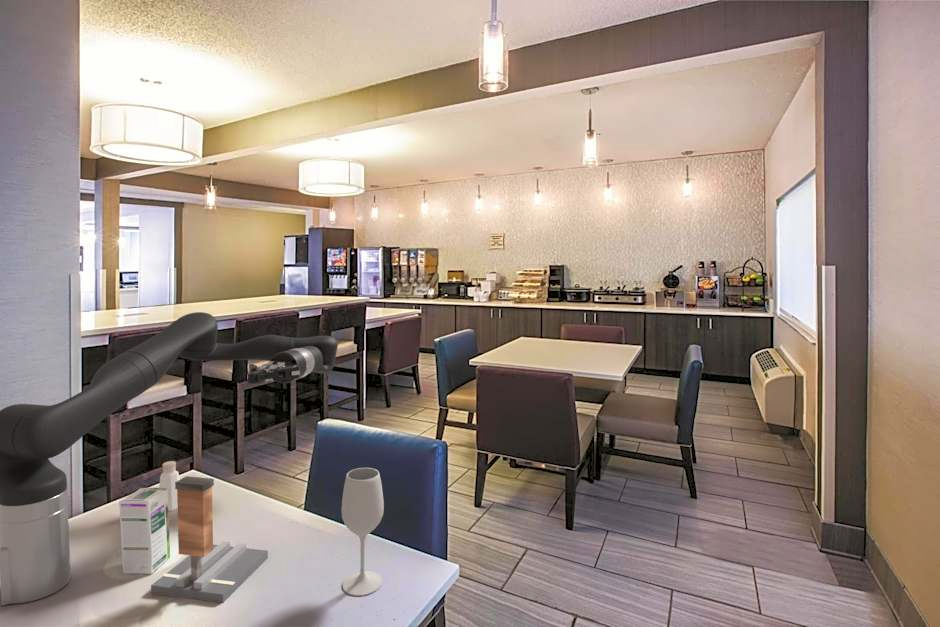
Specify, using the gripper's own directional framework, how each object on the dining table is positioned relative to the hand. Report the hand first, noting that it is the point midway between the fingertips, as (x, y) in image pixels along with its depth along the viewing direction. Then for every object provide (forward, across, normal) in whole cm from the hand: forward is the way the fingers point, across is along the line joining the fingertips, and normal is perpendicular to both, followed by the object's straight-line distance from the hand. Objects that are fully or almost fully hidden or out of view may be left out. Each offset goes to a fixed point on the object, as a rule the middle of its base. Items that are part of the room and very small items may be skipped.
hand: (251, 378), depth 104 cm
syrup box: (+13, -14, +35) cm, 40 cm away
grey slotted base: (+13, 0, +35) cm, 37 cm away
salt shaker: (-10, -28, +35) cm, 46 cm away
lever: (+18, 0, +33) cm, 38 cm away
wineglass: (+10, +29, +35) cm, 47 cm away
